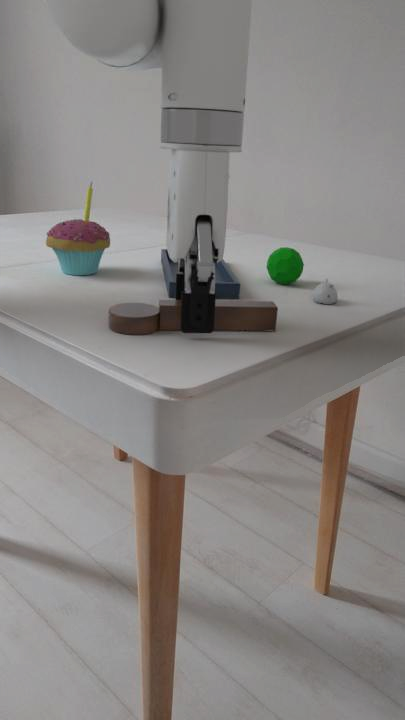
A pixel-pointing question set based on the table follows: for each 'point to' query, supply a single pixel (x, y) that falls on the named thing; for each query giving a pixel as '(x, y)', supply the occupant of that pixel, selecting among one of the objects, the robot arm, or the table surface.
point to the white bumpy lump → (325, 293)
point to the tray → (223, 278)
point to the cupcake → (79, 243)
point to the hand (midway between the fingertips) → (193, 319)
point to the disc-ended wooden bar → (169, 316)
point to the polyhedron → (285, 265)
